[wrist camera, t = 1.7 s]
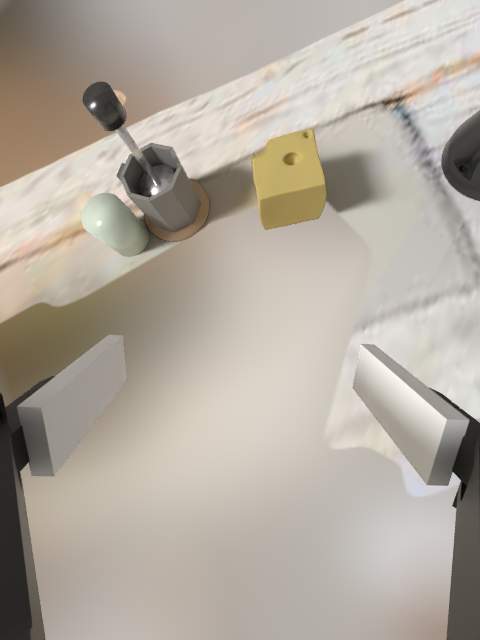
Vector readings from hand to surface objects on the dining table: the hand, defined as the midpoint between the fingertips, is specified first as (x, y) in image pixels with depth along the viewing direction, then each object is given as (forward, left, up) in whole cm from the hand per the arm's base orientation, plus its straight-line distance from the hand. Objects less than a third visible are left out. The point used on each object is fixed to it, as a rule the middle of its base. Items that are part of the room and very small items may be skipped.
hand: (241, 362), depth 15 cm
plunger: (-22, -27, -24) cm, 43 cm away
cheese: (-29, -7, -32) cm, 44 cm away
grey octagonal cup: (-22, -27, -32) cm, 47 cm away
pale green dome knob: (-14, -35, -32) cm, 50 cm away
